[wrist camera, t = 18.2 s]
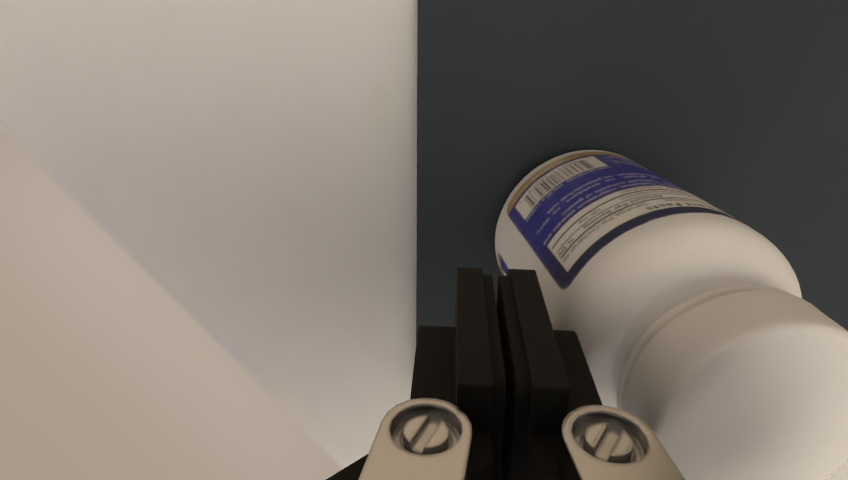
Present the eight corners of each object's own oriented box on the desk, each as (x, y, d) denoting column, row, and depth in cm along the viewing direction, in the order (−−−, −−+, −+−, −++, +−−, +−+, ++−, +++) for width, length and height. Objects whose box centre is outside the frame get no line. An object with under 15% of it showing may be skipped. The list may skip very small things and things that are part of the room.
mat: (417, 381, 22) (416, 398, 21) (419, -21, 16) (417, -22, 15) (900, 398, 21) (921, 416, 20) (1077, -16, 15) (1116, -16, 14)
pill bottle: (637, 305, 19) (851, 541, 11) (483, 303, 18) (584, 552, 10) (677, 149, 17) (980, 291, 8) (504, 139, 16) (654, 285, 8)
